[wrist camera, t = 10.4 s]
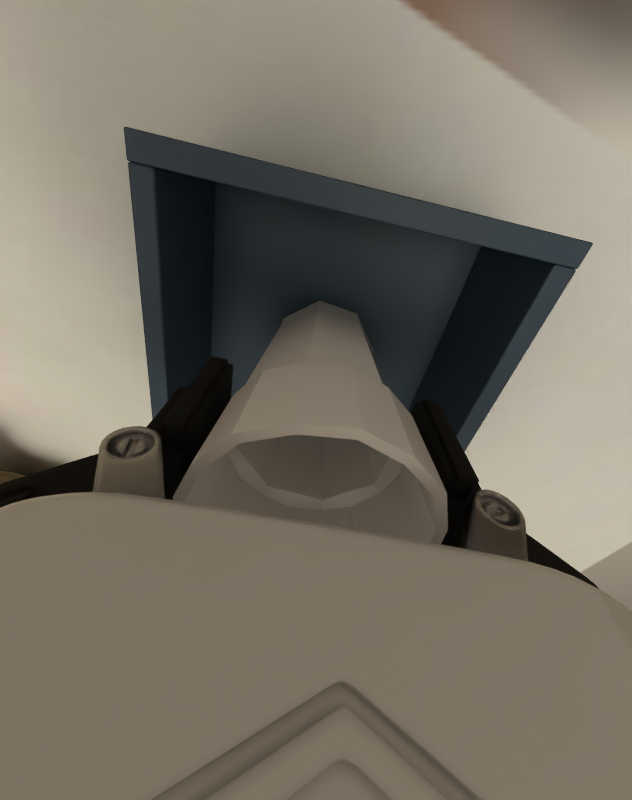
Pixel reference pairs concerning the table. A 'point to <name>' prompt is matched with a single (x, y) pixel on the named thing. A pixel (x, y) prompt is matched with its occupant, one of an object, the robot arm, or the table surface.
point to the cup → (321, 438)
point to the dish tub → (332, 275)
